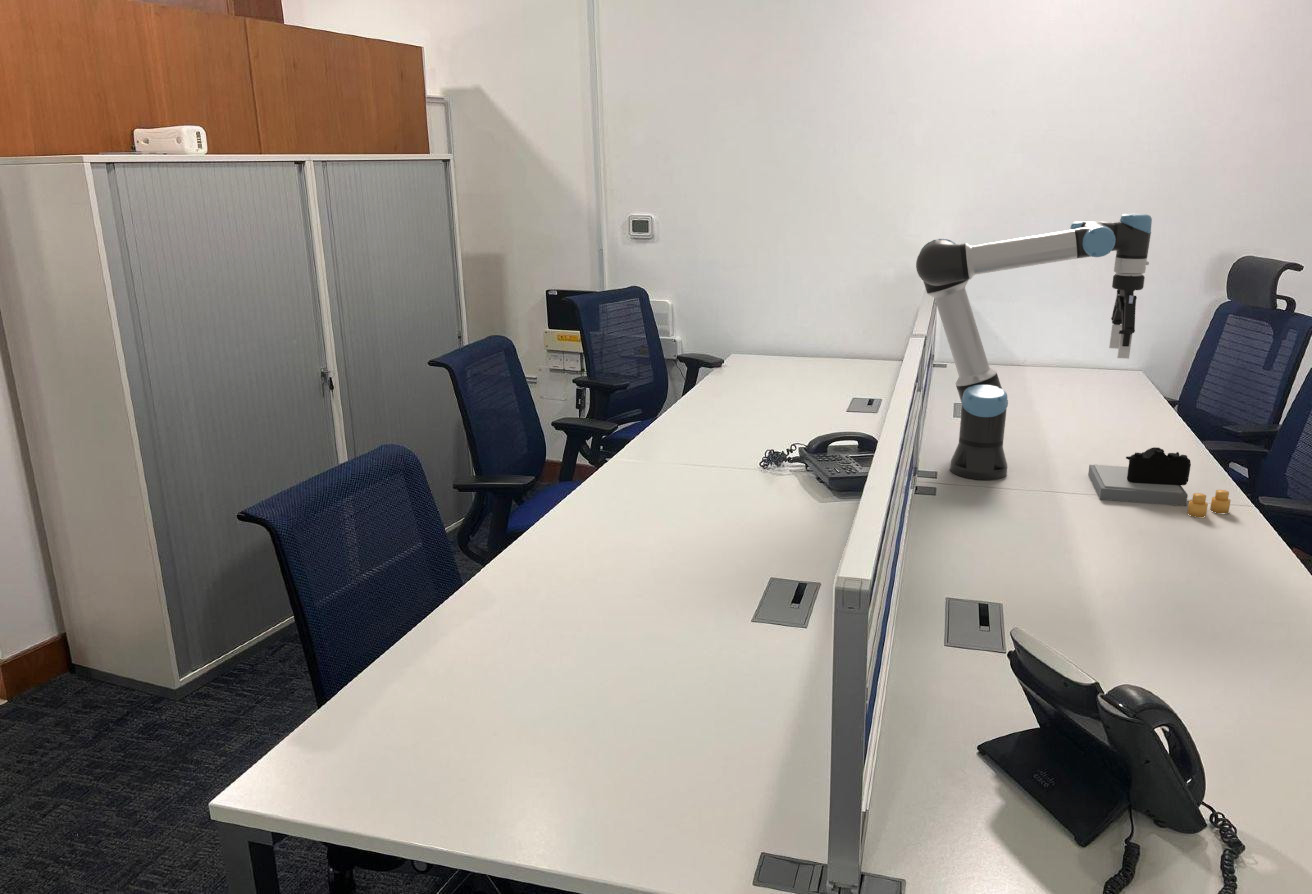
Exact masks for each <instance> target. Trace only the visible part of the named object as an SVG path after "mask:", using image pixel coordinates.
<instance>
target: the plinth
mask: <svg viewBox="0 0 1312 894" xmlns="http://www.w3.org/2000/svg"><path fill="white" fill-rule="evenodd" d="M1128 467H1129V466H1120V465H1108V464H1107V465H1105V464H1103V465H1102V464H1089V467H1088V473H1087V475H1088V478H1089V480H1090V482H1091V484H1092V486H1093V489H1094V490H1095V492H1096V495H1097V497H1098V499H1099V500H1102V501H1114V502H1115V501H1117V502H1129V503H1143V504H1152V505H1153V504H1156V505H1167V506H1180V505H1184V506H1183V507H1186V506H1187V502H1188V497H1189V495H1188V492H1186V490H1185V489H1184V488H1183V485H1164V484H1146V483H1132V482H1129V481H1128V480H1127V474H1128Z"/></svg>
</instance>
